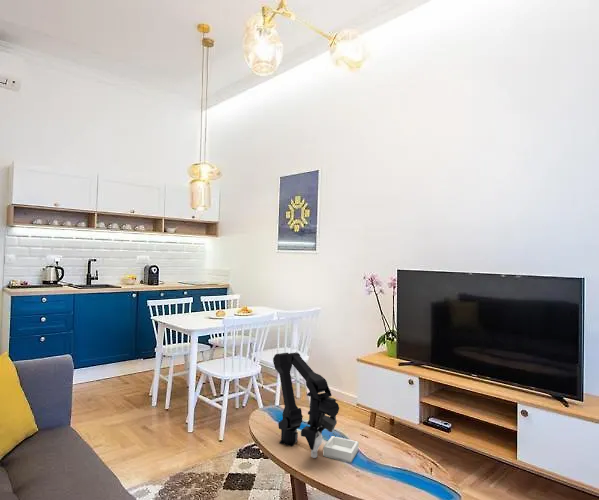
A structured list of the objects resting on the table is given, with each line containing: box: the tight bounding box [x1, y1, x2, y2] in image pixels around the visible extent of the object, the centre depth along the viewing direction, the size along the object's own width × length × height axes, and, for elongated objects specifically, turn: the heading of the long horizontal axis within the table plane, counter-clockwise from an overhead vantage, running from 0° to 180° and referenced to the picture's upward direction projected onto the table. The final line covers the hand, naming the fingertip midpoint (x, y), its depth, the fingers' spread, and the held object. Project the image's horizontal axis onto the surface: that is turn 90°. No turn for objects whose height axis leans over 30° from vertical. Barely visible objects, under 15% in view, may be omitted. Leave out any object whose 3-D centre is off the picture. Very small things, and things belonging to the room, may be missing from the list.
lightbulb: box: [310, 431, 324, 459], centre depth 173 cm, size 6×6×11 cm
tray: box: [322, 435, 359, 464], centre depth 178 cm, size 12×12×4 cm
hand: (314, 446), depth 173 cm, fingers closed on lightbulb, 6 cm apart
